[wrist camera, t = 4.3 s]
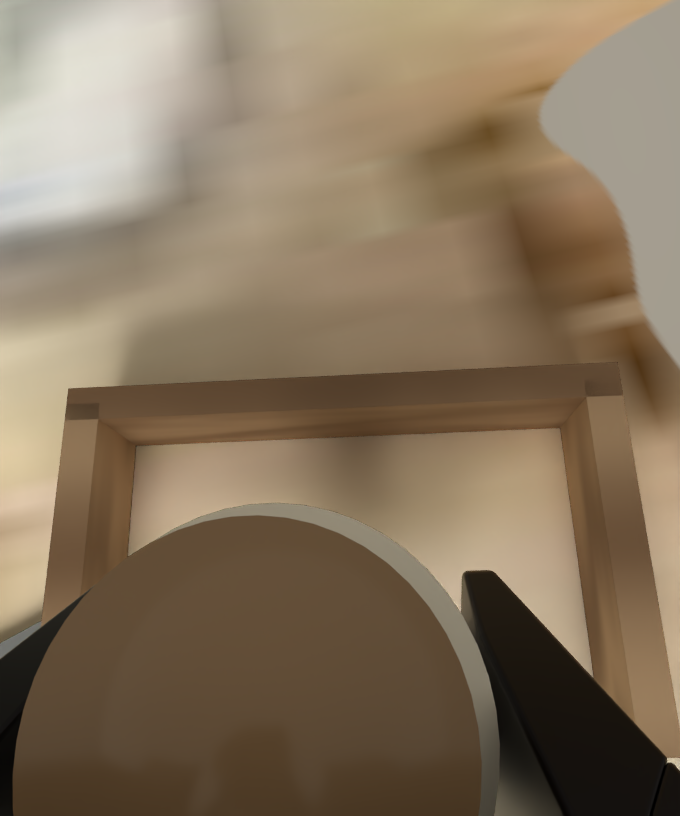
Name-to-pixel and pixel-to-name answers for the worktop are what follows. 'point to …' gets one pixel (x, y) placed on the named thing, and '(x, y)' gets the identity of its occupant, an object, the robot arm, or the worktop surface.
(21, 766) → the jar
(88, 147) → the worktop surface
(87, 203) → the worktop surface
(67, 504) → the wooden u-shaped frame
